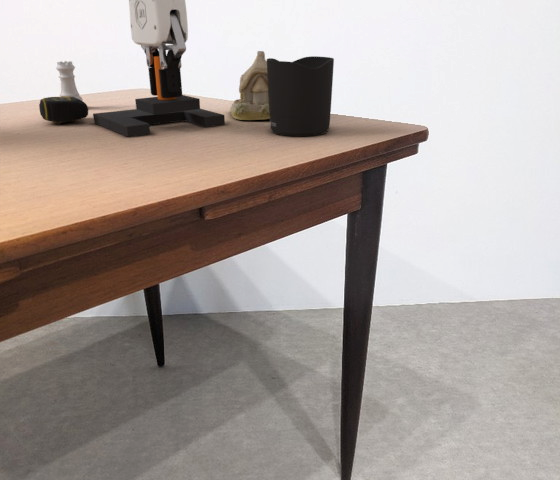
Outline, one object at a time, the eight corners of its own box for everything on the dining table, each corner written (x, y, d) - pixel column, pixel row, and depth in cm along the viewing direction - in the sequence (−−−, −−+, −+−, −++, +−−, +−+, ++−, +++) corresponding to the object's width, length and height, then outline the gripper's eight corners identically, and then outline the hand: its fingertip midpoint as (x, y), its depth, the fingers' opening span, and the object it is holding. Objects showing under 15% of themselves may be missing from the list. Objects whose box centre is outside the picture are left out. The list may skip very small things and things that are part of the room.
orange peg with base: (153, 114, 87) (148, 59, 84) (136, 109, 92) (130, 56, 89) (200, 109, 91) (196, 56, 88) (181, 104, 96) (177, 53, 93)
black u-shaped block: (127, 137, 86) (126, 126, 85) (94, 123, 96) (92, 113, 96) (225, 124, 94) (224, 114, 94) (184, 112, 105) (183, 104, 104)
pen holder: (279, 124, 94) (278, 55, 90) (338, 127, 91) (340, 56, 87) (259, 135, 86) (257, 61, 82) (323, 139, 83) (324, 62, 79)
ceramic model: (232, 107, 109) (230, 48, 105) (294, 107, 109) (294, 48, 105) (225, 121, 96) (222, 55, 92) (296, 121, 96) (296, 54, 92)
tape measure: (91, 123, 96) (87, 99, 95) (46, 127, 93) (42, 102, 92) (81, 117, 102) (77, 94, 100) (38, 121, 99) (34, 97, 97)
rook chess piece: (54, 108, 110) (47, 61, 107) (77, 105, 113) (71, 60, 110) (65, 111, 107) (57, 63, 104) (88, 108, 110) (82, 61, 107)
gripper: (106, -40, 87) (122, 92, 95) (153, -48, 75) (167, 104, 83) (154, -39, 91) (166, 88, 99) (206, -47, 79) (215, 99, 87)
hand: (166, 94), depth 91 cm, fingers closed on orange peg with base, 2 cm apart
